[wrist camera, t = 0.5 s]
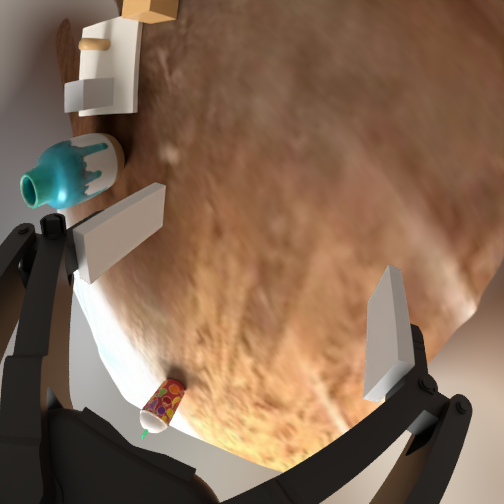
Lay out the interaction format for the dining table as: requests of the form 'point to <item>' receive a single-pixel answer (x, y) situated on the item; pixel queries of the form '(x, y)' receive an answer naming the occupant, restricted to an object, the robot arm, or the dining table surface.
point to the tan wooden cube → (150, 10)
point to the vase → (73, 171)
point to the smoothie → (161, 407)
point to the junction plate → (107, 69)
